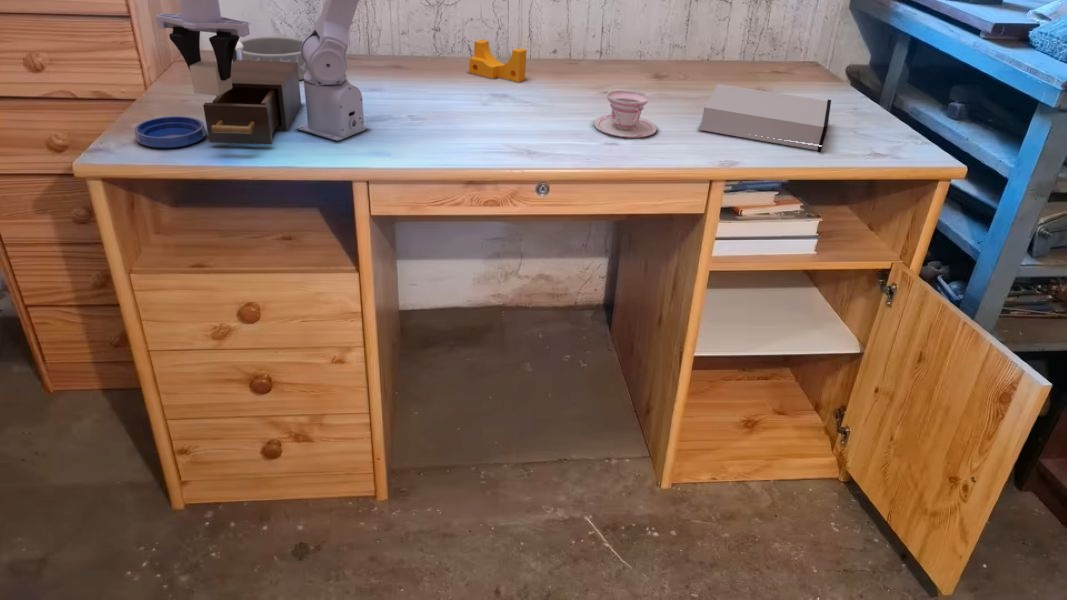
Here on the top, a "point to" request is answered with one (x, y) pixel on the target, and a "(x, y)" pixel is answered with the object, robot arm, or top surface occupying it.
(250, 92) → the drawer
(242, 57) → the milkshake
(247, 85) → the cabinet
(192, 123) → the blue saucer
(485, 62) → the pipe clamp
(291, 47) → the dog bowl
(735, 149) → the top surface
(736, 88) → the disc drive
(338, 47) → the robot arm
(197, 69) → the block
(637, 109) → the teacup
